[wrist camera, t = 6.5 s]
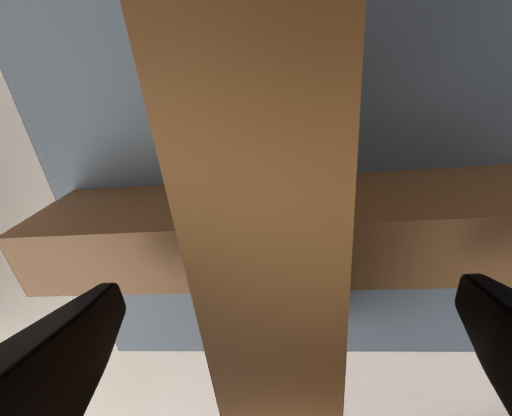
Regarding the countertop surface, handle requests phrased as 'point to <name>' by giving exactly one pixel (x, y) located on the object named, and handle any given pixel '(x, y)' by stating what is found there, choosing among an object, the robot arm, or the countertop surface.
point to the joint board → (396, 127)
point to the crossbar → (260, 184)
